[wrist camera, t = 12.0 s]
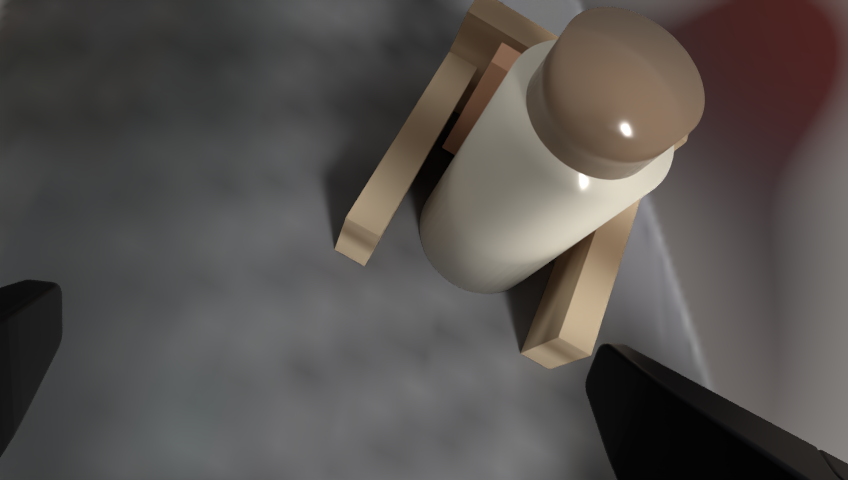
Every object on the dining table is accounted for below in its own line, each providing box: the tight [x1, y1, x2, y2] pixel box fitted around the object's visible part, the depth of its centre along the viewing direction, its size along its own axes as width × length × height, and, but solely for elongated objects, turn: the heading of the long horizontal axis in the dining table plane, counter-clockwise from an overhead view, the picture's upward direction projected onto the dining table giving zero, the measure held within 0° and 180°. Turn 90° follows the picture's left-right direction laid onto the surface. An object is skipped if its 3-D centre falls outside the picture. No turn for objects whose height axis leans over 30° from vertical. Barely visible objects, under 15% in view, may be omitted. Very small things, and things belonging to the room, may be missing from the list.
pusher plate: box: [442, 42, 521, 155], centre depth 25 cm, size 1×7×6 cm, turn 64°
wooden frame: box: [335, 0, 688, 369], centre depth 24 cm, size 12×11×6 cm
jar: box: [419, 7, 705, 294], centre depth 21 cm, size 6×6×12 cm
